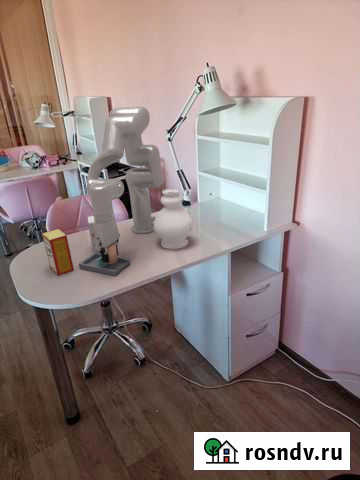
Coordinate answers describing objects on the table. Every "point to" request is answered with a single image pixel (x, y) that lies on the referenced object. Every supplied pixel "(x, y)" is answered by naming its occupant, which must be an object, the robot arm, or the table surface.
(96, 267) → the pusher lane
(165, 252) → the table surface
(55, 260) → the baking soda box
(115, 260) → the tan egg shape
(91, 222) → the supplement box
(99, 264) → the plate
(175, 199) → the decorative vase
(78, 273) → the table surface
